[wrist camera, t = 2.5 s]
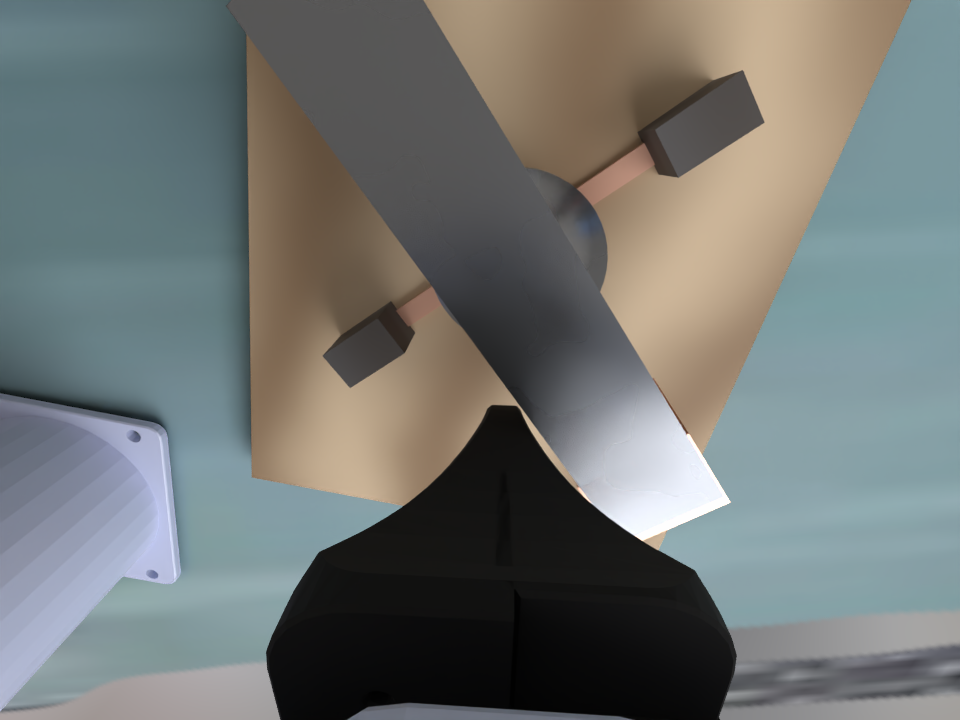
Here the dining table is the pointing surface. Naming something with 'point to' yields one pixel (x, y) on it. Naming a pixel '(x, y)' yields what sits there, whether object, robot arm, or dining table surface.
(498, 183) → the copper-tipped steel bar
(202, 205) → the dining table surface
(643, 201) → the latch board
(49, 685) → the dining table surface
